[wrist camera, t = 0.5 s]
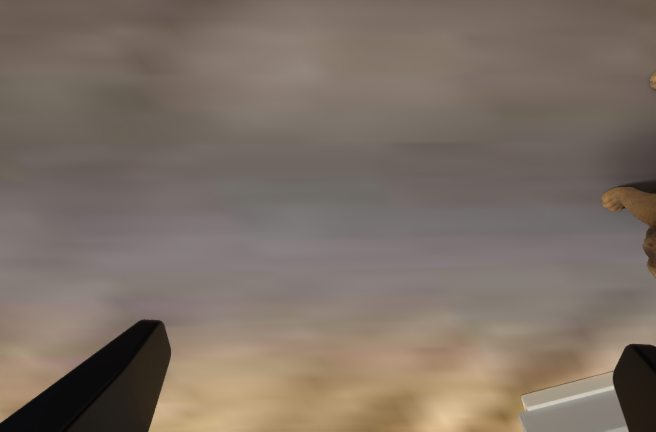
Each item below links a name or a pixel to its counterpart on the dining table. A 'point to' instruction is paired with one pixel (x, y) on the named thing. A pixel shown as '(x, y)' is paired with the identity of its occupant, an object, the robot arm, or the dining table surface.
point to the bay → (574, 407)
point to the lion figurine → (637, 209)
